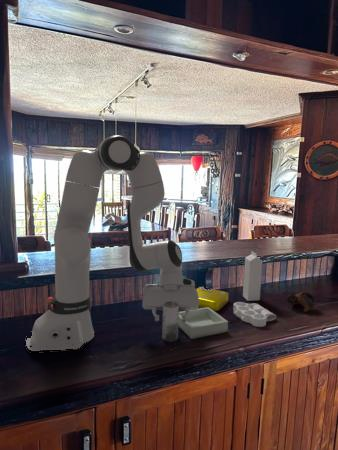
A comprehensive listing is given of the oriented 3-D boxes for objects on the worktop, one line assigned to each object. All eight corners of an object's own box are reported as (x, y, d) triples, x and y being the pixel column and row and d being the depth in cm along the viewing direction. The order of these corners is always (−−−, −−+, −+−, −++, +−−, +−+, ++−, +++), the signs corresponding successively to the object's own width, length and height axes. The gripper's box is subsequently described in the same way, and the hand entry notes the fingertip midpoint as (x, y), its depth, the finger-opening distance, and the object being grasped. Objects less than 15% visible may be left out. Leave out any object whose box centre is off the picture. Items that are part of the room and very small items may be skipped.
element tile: (185, 304, 148) (185, 294, 147) (199, 294, 160) (200, 285, 160) (216, 312, 140) (217, 301, 139) (229, 301, 153) (230, 291, 152)
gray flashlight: (165, 342, 113) (166, 307, 111) (159, 335, 118) (160, 301, 116) (180, 339, 115) (181, 304, 113) (173, 332, 120) (174, 299, 118)
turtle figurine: (304, 304, 152) (314, 292, 148) (310, 320, 145) (320, 308, 140) (280, 297, 151) (289, 285, 147) (284, 313, 144) (294, 301, 139)
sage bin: (191, 338, 116) (191, 328, 116) (174, 322, 129) (174, 312, 128) (227, 331, 122) (228, 321, 122) (207, 316, 135) (208, 307, 134)
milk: (254, 295, 160) (257, 250, 156) (259, 300, 154) (263, 253, 151) (242, 296, 159) (245, 250, 156) (247, 300, 153) (250, 254, 150)
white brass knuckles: (281, 324, 131) (249, 329, 125) (254, 306, 147) (225, 311, 142) (282, 316, 130) (250, 321, 125) (254, 299, 147) (225, 303, 141)
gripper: (142, 280, 121) (140, 317, 112) (198, 281, 121) (200, 318, 113) (142, 287, 126) (140, 323, 118) (197, 288, 126) (198, 324, 118)
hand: (170, 321), depth 115 cm, fingers open, 8 cm apart
